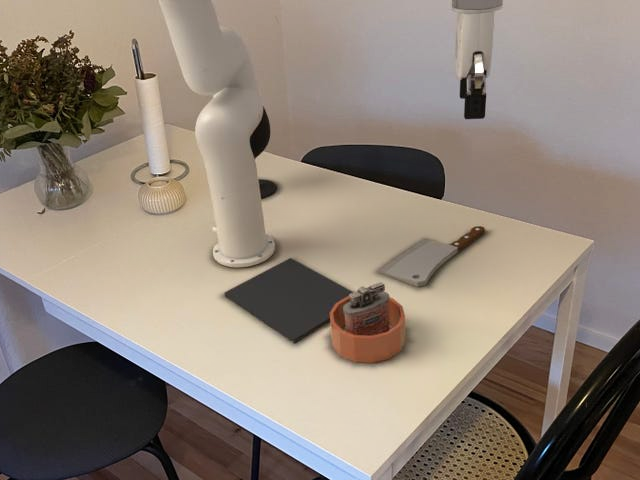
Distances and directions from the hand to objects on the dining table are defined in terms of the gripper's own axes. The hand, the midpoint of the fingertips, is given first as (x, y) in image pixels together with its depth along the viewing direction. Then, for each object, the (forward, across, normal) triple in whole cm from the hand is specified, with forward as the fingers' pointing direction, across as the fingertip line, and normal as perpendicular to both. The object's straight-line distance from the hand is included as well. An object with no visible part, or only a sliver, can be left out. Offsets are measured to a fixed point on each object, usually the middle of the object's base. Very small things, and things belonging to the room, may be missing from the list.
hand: (471, 107), depth 110 cm
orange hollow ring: (+30, +24, -17) cm, 42 cm away
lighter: (+30, +24, -17) cm, 42 cm away
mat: (+30, +12, -31) cm, 45 cm away
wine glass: (+30, -32, -46) cm, 64 cm away
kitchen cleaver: (+30, -3, -5) cm, 31 cm away
